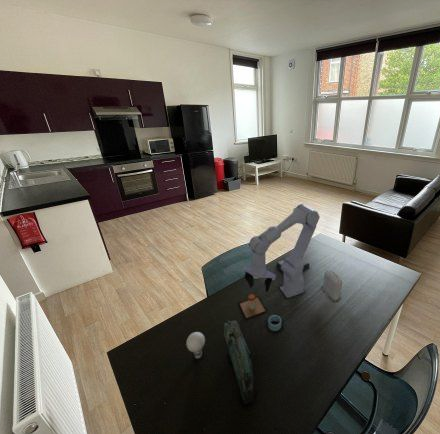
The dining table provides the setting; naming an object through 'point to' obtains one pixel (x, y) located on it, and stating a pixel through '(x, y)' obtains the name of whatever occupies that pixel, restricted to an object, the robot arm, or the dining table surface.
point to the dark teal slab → (240, 359)
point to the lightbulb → (196, 343)
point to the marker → (251, 301)
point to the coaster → (252, 312)
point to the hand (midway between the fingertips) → (259, 288)
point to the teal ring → (274, 318)
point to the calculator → (305, 263)
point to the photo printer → (332, 284)
